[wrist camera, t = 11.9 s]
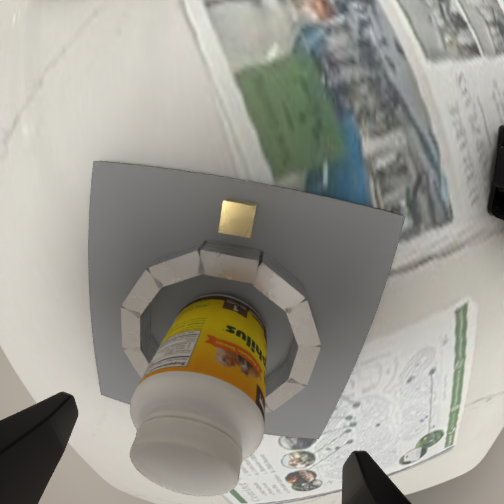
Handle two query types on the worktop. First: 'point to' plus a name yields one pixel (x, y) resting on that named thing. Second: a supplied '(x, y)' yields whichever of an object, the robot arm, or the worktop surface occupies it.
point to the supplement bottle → (202, 398)
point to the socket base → (236, 278)
